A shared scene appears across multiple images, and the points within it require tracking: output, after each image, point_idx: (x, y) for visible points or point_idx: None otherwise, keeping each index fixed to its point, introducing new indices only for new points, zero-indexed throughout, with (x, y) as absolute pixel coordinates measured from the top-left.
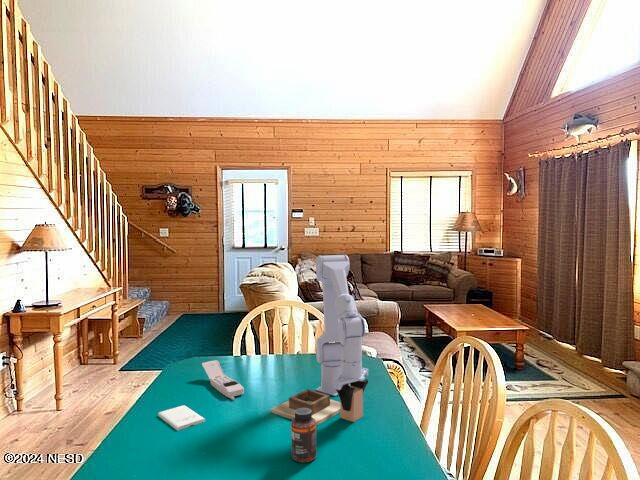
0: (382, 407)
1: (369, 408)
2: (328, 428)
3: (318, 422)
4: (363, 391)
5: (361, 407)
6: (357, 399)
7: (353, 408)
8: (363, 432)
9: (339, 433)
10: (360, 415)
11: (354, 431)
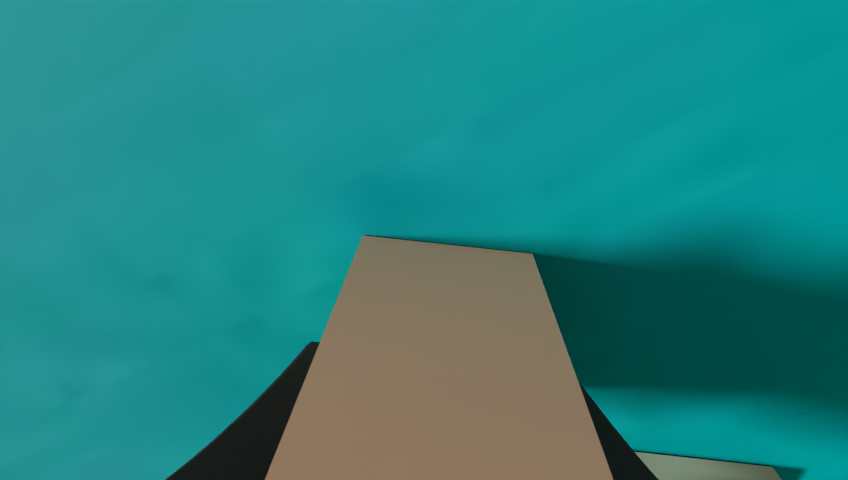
0: (20, 155)
1: (152, 260)
2: (755, 377)
3: (719, 476)
4: (190, 472)
5: (370, 297)
6: (475, 419)
7: (563, 351)
8: (748, 43)
9: (841, 259)
10: (405, 252)
11: (751, 150)
